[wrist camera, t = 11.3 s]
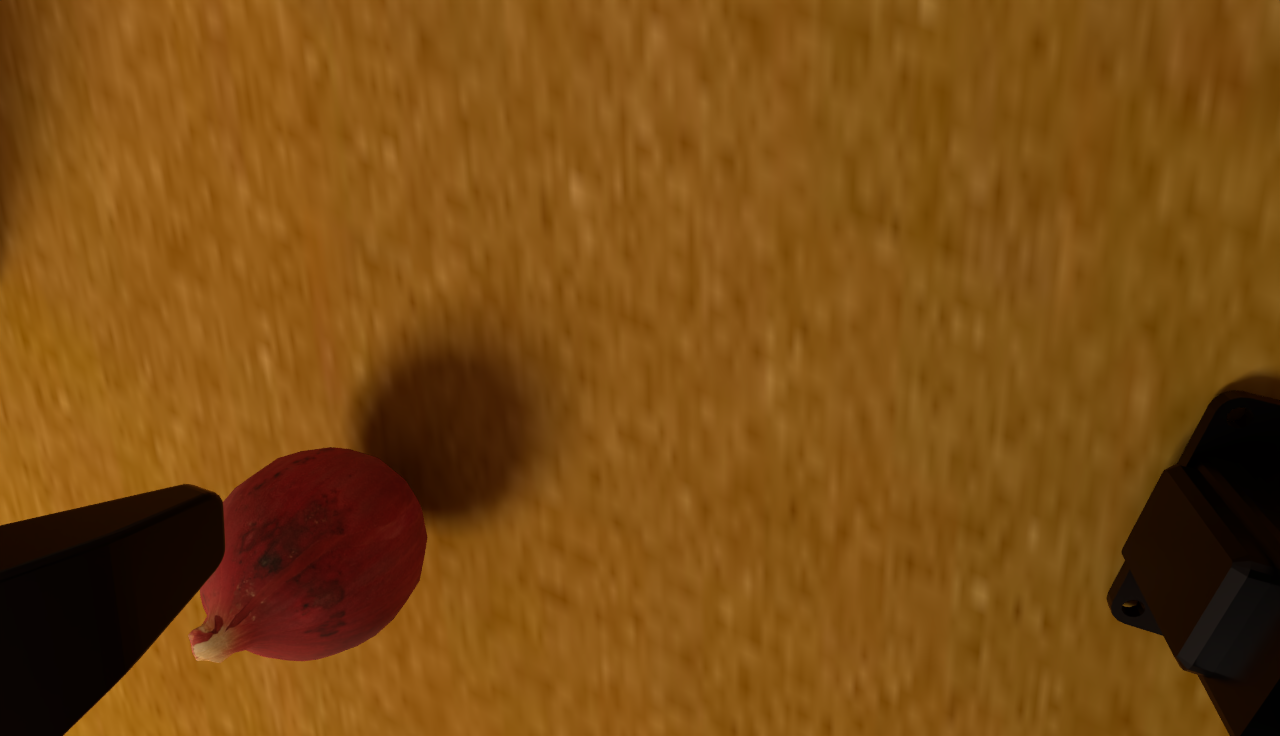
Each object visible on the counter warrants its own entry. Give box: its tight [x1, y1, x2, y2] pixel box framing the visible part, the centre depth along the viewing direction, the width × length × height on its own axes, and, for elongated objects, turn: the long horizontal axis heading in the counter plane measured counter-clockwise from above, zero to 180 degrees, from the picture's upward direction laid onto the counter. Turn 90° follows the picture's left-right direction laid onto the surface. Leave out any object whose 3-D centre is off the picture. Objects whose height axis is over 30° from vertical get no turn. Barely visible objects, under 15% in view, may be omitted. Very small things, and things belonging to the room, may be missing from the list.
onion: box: [188, 447, 427, 663], centre depth 22 cm, size 6×6×8 cm
